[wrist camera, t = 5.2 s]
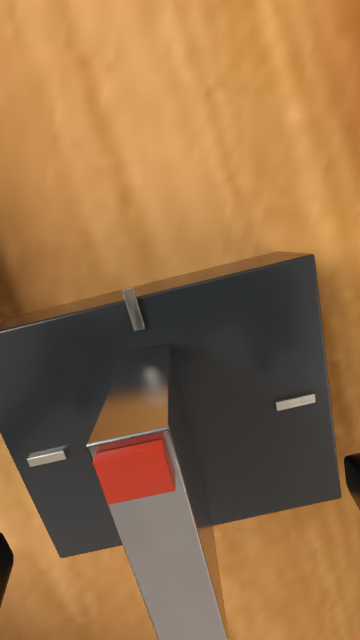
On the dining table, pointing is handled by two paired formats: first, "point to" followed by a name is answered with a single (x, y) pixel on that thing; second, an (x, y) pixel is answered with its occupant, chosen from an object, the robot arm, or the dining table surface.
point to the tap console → (197, 387)
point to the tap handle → (159, 496)
